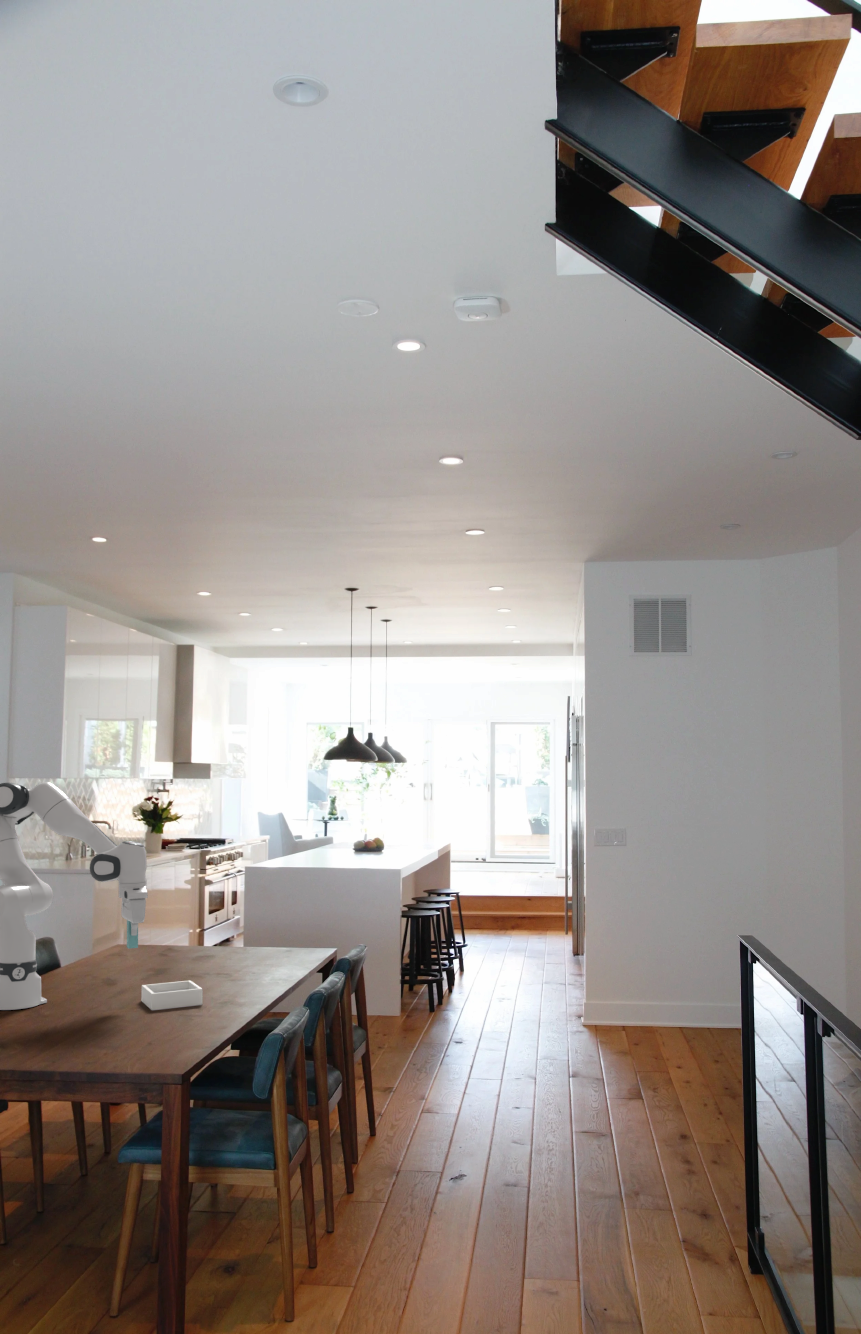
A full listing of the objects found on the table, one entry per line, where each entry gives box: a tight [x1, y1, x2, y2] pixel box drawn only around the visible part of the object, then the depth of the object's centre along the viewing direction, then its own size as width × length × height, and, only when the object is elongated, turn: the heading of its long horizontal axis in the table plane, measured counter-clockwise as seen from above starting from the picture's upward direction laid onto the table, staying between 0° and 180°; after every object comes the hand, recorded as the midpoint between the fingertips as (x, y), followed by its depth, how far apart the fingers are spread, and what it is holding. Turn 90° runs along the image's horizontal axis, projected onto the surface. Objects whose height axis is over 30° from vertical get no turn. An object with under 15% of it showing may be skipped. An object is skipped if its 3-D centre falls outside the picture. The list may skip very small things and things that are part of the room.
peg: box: [126, 920, 139, 950], centre depth 337 cm, size 3×3×10 cm
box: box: [140, 980, 204, 1011], centre depth 335 cm, size 16×16×5 cm
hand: (132, 934), depth 337 cm, fingers closed on peg, 3 cm apart
